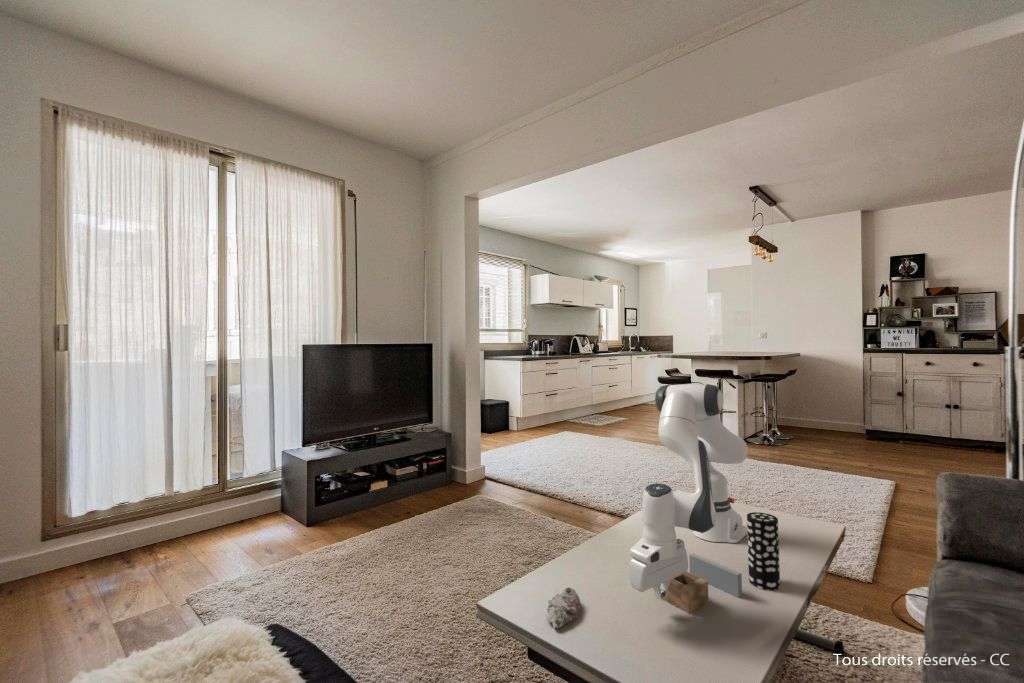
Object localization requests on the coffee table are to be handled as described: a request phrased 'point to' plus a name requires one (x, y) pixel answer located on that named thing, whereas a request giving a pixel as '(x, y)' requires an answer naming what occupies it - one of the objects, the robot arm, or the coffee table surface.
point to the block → (687, 592)
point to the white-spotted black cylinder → (763, 551)
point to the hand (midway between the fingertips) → (660, 596)
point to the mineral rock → (563, 607)
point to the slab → (716, 575)
